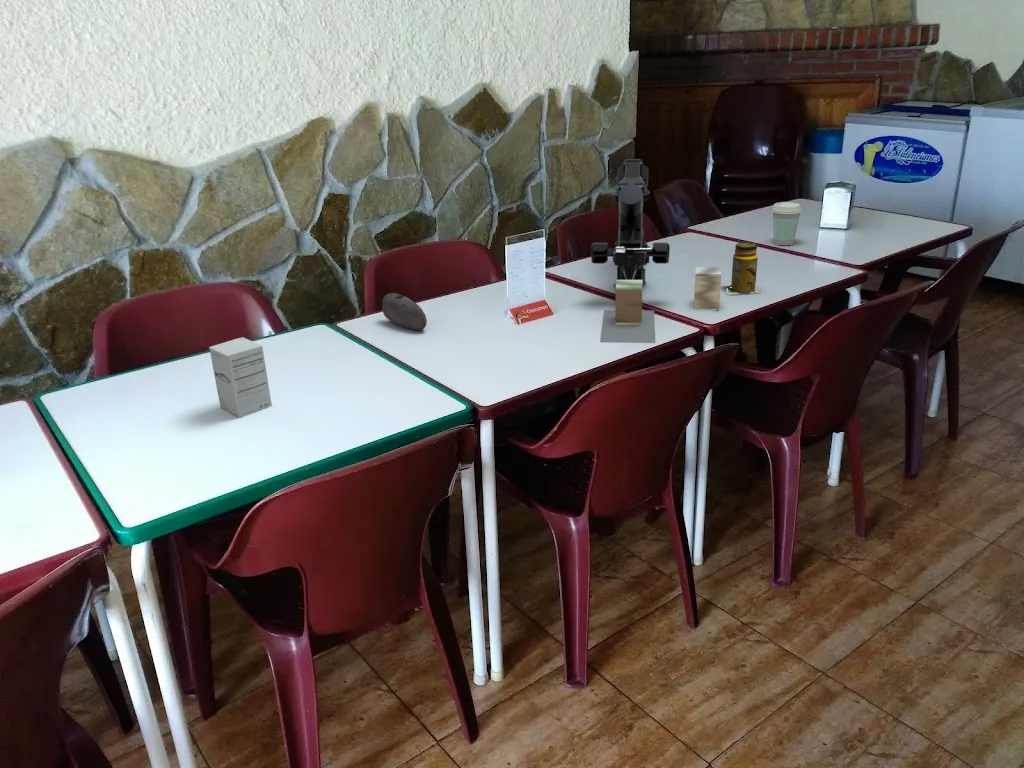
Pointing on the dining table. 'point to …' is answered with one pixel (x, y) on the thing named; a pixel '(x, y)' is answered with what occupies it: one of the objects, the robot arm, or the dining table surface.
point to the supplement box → (240, 376)
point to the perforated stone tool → (403, 312)
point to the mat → (628, 329)
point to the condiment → (743, 269)
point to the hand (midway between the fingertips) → (629, 284)
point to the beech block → (707, 287)
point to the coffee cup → (785, 222)
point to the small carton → (628, 302)
